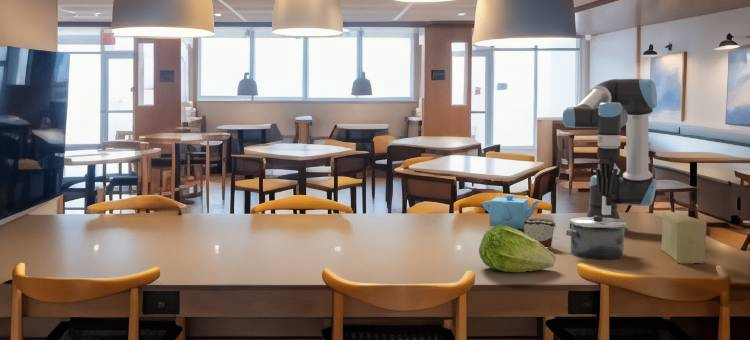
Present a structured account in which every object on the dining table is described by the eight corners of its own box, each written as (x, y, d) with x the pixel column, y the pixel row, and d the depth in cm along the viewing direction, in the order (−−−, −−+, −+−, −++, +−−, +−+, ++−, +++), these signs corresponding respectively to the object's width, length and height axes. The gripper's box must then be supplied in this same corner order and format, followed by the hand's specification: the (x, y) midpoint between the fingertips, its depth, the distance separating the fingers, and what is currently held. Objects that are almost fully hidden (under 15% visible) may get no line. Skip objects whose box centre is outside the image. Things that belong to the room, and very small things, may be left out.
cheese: (649, 250, 259) (651, 209, 258) (675, 250, 259) (677, 209, 258) (677, 264, 237) (679, 220, 236) (705, 264, 237) (707, 220, 236)
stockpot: (551, 249, 259) (552, 222, 258) (606, 245, 266) (607, 219, 264) (582, 261, 240) (583, 232, 239) (640, 257, 246) (641, 229, 245)
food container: (556, 245, 266) (557, 219, 265) (555, 248, 261) (556, 221, 260) (523, 242, 270) (524, 217, 269) (521, 246, 265) (522, 219, 264)
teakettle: (478, 227, 304) (479, 193, 302) (515, 224, 311) (516, 191, 309) (503, 235, 286) (504, 199, 285) (541, 231, 294) (542, 196, 292)
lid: (557, 223, 259) (558, 213, 258) (603, 220, 264) (603, 211, 264) (589, 231, 239) (589, 221, 239) (637, 229, 244) (637, 218, 244)
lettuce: (540, 278, 236) (548, 297, 221) (473, 252, 236) (475, 269, 221) (558, 239, 232) (567, 256, 217) (490, 213, 232) (493, 228, 217)
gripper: (588, 145, 249) (586, 211, 251) (610, 149, 236) (607, 218, 239) (606, 145, 251) (604, 210, 253) (629, 148, 238) (627, 217, 241)
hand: (606, 214), depth 246 cm, fingers closed
